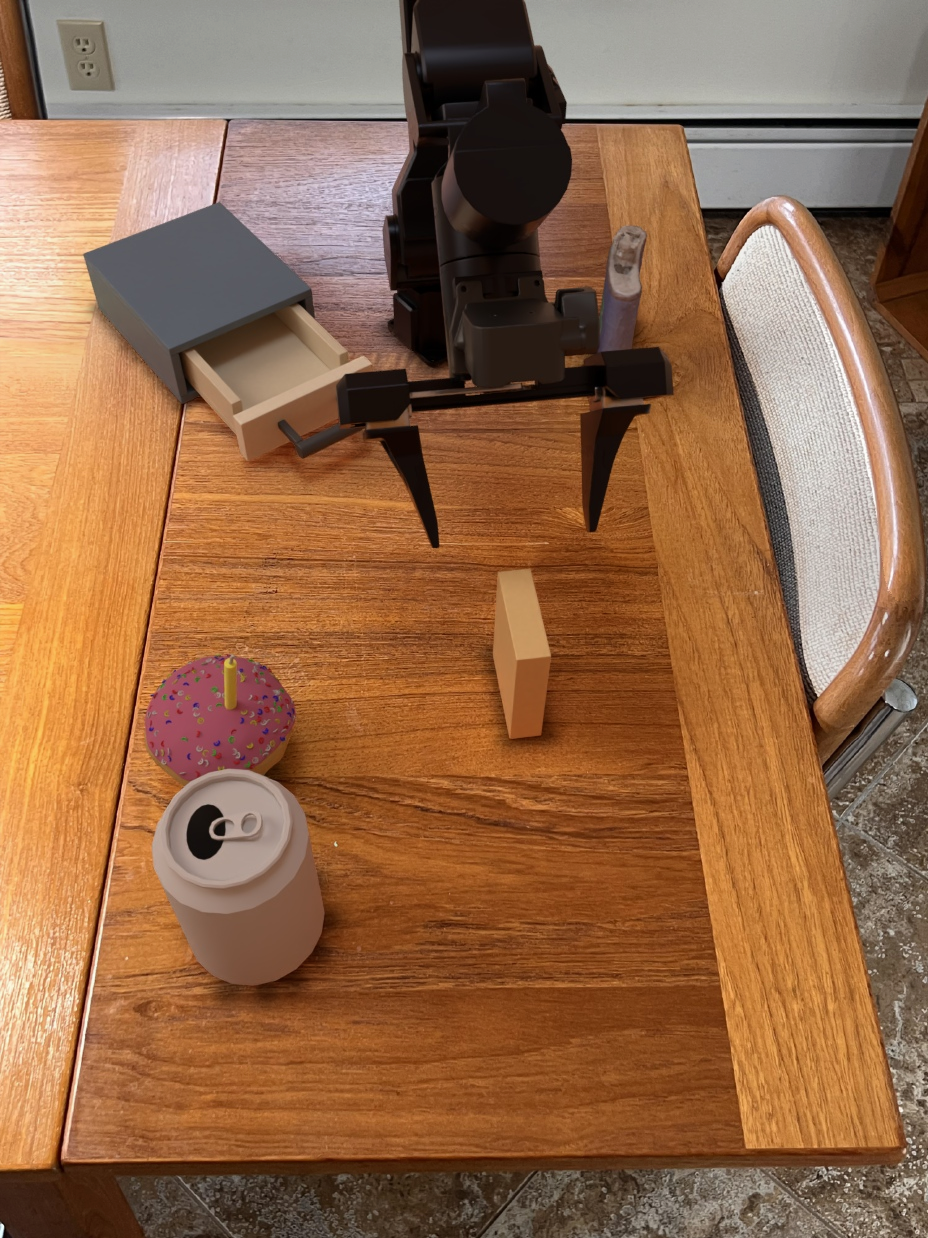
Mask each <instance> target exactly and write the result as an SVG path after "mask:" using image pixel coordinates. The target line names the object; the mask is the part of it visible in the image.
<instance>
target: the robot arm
mask: <svg viewBox="0 0 928 1238" xmlns="http://www.w3.org/2000/svg"><path fill="white" fill-rule="evenodd" d="M398 5H399V6H398V7H399V18H400V19H399V20H400V21H399V22H400V35H401V48H402V59H401V63H402V64H401V77H402V79H401V80H402V92H403V93H402V94H403V103H404V112H405V118H406V122H407V132H408V133H407V134H408V146H409V147H408V148H409V150H408V154H407V156H406V157H405V160H404V162H403V164H402V166H401V169H400V171H399V173H398V175H397V178H396V180H395V182H394V184H393V186H392V189H391V202H392V214H388V215H387V214H386V215H385V216H384V221H383V226H382V229H381V231H382V242H383V243H382V245H383V256H384V261H385V262H384V263H385V268H386V273H387V280H388V285H389V291H390V292H393V291H395V292H394V293H393V295H392V310H393V312H392V313H393V317H392V318H391V319H389V320H388V321H387V329H388V330H389V332H391V334H393V335H394V337H395V338H397V339H398V341H400V343H402V344H403V345H404V346H405V347H406V348H407V349H408V350H410V351H411V352H412V353H414V354H415V356H417V357H418V358H419V359H420V360H421V361H422V362H423V363H425V364H426V365H427V366H428V367H430V368H436V367H438V366H441V365H443V364H444V363H446V362H447V366H448V375H449V377H443V378H432V379H420V380H409V378H408V372H407V368H396V369H394V368H393V369H384V370H373V371H371V372H360V373H348V374H345V375H344V376H343V377H342V378H341V380H340V381H339V382H338V383H337V385H336V399H337V408H338V423H339V427H340V429H345V428H358V427H365V429H364V430H363V432H362V441H363V443H370V442H371V443H372V442H378V443H380V445H381V446H382V448H383V449H384V451H385V453H386V454H387V456H388V458H389V460H390V462H391V463H392V464H393V467H394V468H395V469H396V471H397V473H398V475H399V476H400V478H401V480H402V482H403V483H404V486H405V489H406V491H407V493H408V496H409V497H410V500H411V503H412V505H413V507H414V510H415V511H416V514H417V517H418V518H419V521H420V524H421V526H422V529H423V530H424V533H425V535H426V538H427V539H428V543H429V544H430V547H431V548H432V549H439V548H440V546H441V545H440V533H439V523H438V517H437V512H436V508H435V504H434V500H433V495H432V490H431V485H430V481H429V477H428V472H427V467H426V462H425V460H424V459H425V458H424V454H423V447H422V440H421V434H420V428H419V425H418V424H416V425H414V424H413V425H411V420H410V419H412V418H413V413H426V412H435V411H446V410H459V409H469V408H480V407H481V408H482V407H492V406H502V405H513V404H525V403H534V402H546V401H547V402H548V401H557V400H568V399H579V398H581V399H582V398H587V402H588V408H589V411H586V412H582V413H580V414H579V421H580V422H579V423H580V461H581V463H580V465H581V467H580V468H581V505H582V512H583V520H584V526H585V531H586V532H587V533H596V532H597V530H598V526H599V523H600V518H601V514H602V510H603V506H604V502H605V498H606V493H607V490H608V487H609V482H610V478H611V474H612V470H613V467H614V462H615V461H616V458H617V457H616V456H617V455H618V452H619V449H620V447H621V444H622V442H623V440H624V437H625V435H626V433H627V431H628V429H629V428H630V427H631V424H632V423H633V421H634V418H635V417H639V416H644V415H648V414H650V413H651V408H652V404H651V403H645V404H644V402H649V401H653V400H658V399H661V398H665V397H670V396H674V395H675V393H674V380H673V367H672V363H671V360H670V358H669V356H668V355H667V353H665V351H664V350H663V349H662V348H661V347H660V346H650V347H649V346H648V347H639V348H632V349H625V350H614V351H602V352H599V353H597V352H598V350H599V346H600V323H599V316H600V312H599V305H598V303H599V302H598V295H597V291H596V290H595V289H594V288H593V287H592V286H580V287H567V288H558V289H557V290H556V291H555V296H554V297H555V298H554V301H549V300H548V297H547V294H546V289H545V288H546V287H545V281H544V276H543V270H542V266H541V253H540V252H541V251H540V241H539V227H541V225H542V224H543V223H544V221H546V219H547V218H548V217H549V216H550V214H551V213H552V212H553V211H554V210H555V209H556V207H557V206H558V205H559V203H560V202H562V201H561V200H562V199H563V197H564V196H565V194H566V192H567V190H568V187H569V185H570V181H571V177H572V173H573V172H572V171H573V157H572V149H571V147H570V145H569V143H568V142H567V139H566V136H565V133H564V132H563V131H562V130H563V129H562V128H563V125H566V119H567V108H568V107H567V106H568V102H567V100H566V97H565V95H564V93H563V90H562V88H561V85H560V83H559V81H558V79H557V77H556V74H555V72H554V70H553V68H552V67H551V66H550V64H548V61H547V58H546V54H545V50H544V49H543V46H542V45H540V44H535V40H534V36H533V32H532V26H531V22H530V17H529V12H528V8H527V4H526V1H525V0H398ZM596 353H597V354H596ZM586 355H590V356H588V357H586V358H583V363H582V365H579V366H568V367H566V357H574V356H575V357H576V356H586ZM470 381H471V383H472V384H473V385H474V386H469V387H466V385H467V382H470ZM524 382H526V383H527V382H534V384H523V383H524Z"/></svg>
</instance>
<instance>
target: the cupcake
mask: <svg viewBox="0 0 928 1238" xmlns="http://www.w3.org/2000/svg"><path fill="white" fill-rule="evenodd" d="M149 696H150V697H151V699H150V702H149V704H148V706H147V709H146V711H145V716H144V745H145V749H146V752H147V754H148V756H149V757H150V758H151V760H152V761H153V762H154V763H155V764H156V765H157V766H158V767H159V768H160V769H161V770H162V771H164V772H165V773H166V774H167V775H168V776H170V777H171V778H172V779H174V780H175V781H176V782H178V783H179V784H180V785H182V786H183V787H185V786H186V785H187V784H188V783H189V782H191V781H193V780H195V779H197V778H199V777H201V776H203V775H205V774H207V773H209V772H214V771H219V770H224V769H241V770H250V771H252V772H255V773H258V774H260V775H263V776H265V775H266V774H267V772H268V771H269V770H271V768H273V766H275V765H276V764H277V763H279V762H280V761H281V759H282V758H283V757H284V755H285V752H286V751H287V748H288V745H289V741H290V738H291V737H292V734H293V730H294V726H295V723H296V718H297V717H296V715H297V713H296V705H295V702H294V699H293V698H292V697H291V695H290V694H289V693H288V691H287V690H286V689H285V687H284V686H283V684H282V683H281V681H280V679H279V678H278V677H277V676H276V675H275V674H274V673H273V671H272V668H270V667H269V668H268V667H267V666H266V665H262V664H261V663H260V662H258V661H257V662H256V661H255V660H254V659H253V657H250V658H246V657H240V656H237V655H235V654H228V653H226V655H221V654H216V655H215V656H214V655H213V656H204V657H197V658H195V659H194V660H192V661H191V660H190V661H188V662H187V664H184V665H183V666H181V667H180V668H178V669H174V670H173V672H172V673H169V674H168V675H167V676H166V679H165V678H163V680H162V681H161V684H159V685H158V687H157V689H156V691H155V692H154V693H152V694H150V695H149Z"/></svg>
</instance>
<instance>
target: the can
mask: <svg viewBox="0 0 928 1238" xmlns="http://www.w3.org/2000/svg"><path fill="white" fill-rule="evenodd" d="M151 855H152V864H153V869H154V872H155V873H156V876H157V879H158V880H159V882H160V885H161V886H162V887H161V888H162V889H163V891H164V893H165V895H166V897H167V900H168V902H169V904H170V906H171V908H172V910H173V913H174V915H175V918H176V920H177V922H178V924H179V926H180V928H181V930H182V932H183V934H184V937H185V939H186V941H187V943H188V945H189V947H190V949H191V951H192V953H193V955H194V957H195V960H196V962H197V963H198V964H199V965H201V966H202V967H203V968H204V969H205V970H206V971H207V972H208V973H209V974H211V976H212V977H215V978H217V979H219V980H222V981H224V982H227V983H229V984H231V985H241V986H253V987H254V986H260V985H263V984H266V983H272V982H275V981H276V982H277V981H278V980H279V979H281V978H283V977H285V976H287V975H288V974H290V973H292V972H294V971H295V970H297V969H298V968H299V967H300V966H301V965H302V964H303V963H304V961H306V960H307V958H308V957H309V956H310V955H311V954H312V953H313V952H314V949H315V947H316V946H317V944H318V941H319V940H320V937H321V936H322V932H323V926H324V920H325V906H324V902H323V896H322V890H321V886H320V881H319V876H318V871H317V867H316V866H317V865H316V861H315V857H314V851H313V847H312V841H311V836H310V831H309V826H308V821H307V816H306V813H305V811H304V809H303V808H302V806H301V804H300V803H299V801H298V799H297V798H296V796H295V794H293V793H292V792H291V791H289V789H287V788H286V787H284V785H282V784H281V783H280V782H279V781H277V780H274V779H272V778H269V777H267V776H265V775H264V776H263V775H260V774H258V773H255V772H252V771H250V770H241V769H224V770H219V771H214V772H209V773H207V774H205V775H203V776H201V777H199V778H197V779H195V780H193V781H191V782H189V783H188V784H187V785H186V786H183V787H182V788H181V789H180V790H179V791H178V792H177V793H175V795H174V796H173V797H172V798H171V800H170V802H169V803H168V805H167V807H166V808H165V810H164V812H163V813H162V815H161V817H160V819H159V820H158V821H157V823H156V827H155V831H154V835H153V840H152V843H151Z"/></svg>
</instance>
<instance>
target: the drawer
mask: <svg viewBox="0 0 928 1238" xmlns="http://www.w3.org/2000/svg"><path fill="white" fill-rule="evenodd" d="M179 357H180V362H181V366H182V370H183V375H184V377H185V378H186V379H187V381H188V382H189V383H190V384H191V385H192V386H193V387H194V388H195V390H196V391H197V392H198V393H199V394H200V395H201V396H200V397H201V398H202V399H203V400H204V401H205V402H206V403H207V404H208V406H209V407H210V408H211V409H212V411H214V412H215V413H216V415H217V416H218V417H219V418H220V419H221V420H222V422H224V424H226V426H227V427H228V428H229V429H230V430H231V431H232V432H233V433H234V435H235V436H236V439H237V444H238V449H239V453H240V455H241V456H242V457H243V458H244V459H245V460H246V461H247V462H250V461H253V460H255V459H257V458H259V457H261V456H263V455H265V454H267V453H269V452H271V451H274V450H276V449H278V448H280V447H282V446H283V445H286V444H288V443H290V442H291V443H292V445H293V446H294V450H295V453H296V454H297V456H298V457H299V459H301V460H305V459H306V458H308V457H310V456H312V455H315V454H317V453H319V452H320V451H321V452H322V451H323V450H325V449H327V448H329V447H331V446H333V445H335V444H337V443H339V442H341V441H343V440H345V439H347V438H349V437H351V436H353V435H355V434H357V433H360V432H362V431H365V427H358V428H345V429H340V427H339V422H338V423H337V422H336V423H335V424H333V425H331V426H329V427H327V428H325V429H323V430H321V431H318V432H317V433H315V434H313V435H310V436H309V437H306V438H305V439H303V438H302V437H303V436H304V435H307V434H309V433H311V432H313V431H315V430H317V429H319V428H322V427H323V426H326V425H327V424H330V423H332V422H334V421H336V420H339V418H338V408H337V399H336V385H337V383H338V382H339V381H340V380H341V378H342V377H343V376H344V375H345V374H348V373H360V372H371V371H374V367H373V363H372V362H371V361H370V360H369V358H367V357H366V356H365V355H362V356H359V357H357V358H355V359H353V360H350V361H349V351H348V350H347V349H346V348H345V347H344V346H343V344H341V343H340V342H339V341H338V340H337V339H336V338H335V337H334V336H333V335H332V334H331V333H329V331H328V330H326V328H324V327H323V326H322V325H321V324H320V322H318V321H317V320H316V318H315V319H314V318H313V317H312V316H311V315H310V314H309V313H308V312H307V311H305V310H304V309H303V308H302V307H301V306H300V305H299V304H298V303H297V302H296V303H294V304H291V305H289V306H287V307H284V308H282V309H280V310H277V311H275V312H273V313H270V314H268V315H266V316H263V317H261V318H259V319H256V320H254V321H252V322H249V323H247V324H245V325H242V326H240V327H238V328H235V329H233V330H231V331H228V332H226V333H224V334H221V335H219V336H217V337H214V338H212V339H210V340H207V341H205V342H203V343H200V344H198V345H196V346H193V347H191V348H189V349H186V350H184V351H182V352H179Z"/></svg>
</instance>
